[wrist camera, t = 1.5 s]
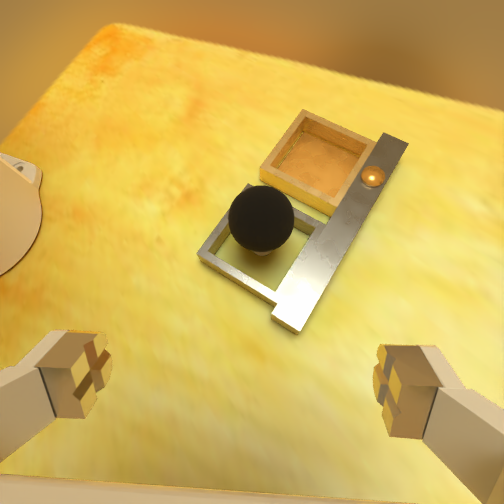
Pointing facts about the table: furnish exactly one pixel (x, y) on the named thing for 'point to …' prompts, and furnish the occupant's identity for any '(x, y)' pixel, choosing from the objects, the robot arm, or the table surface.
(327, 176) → the rail
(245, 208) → the light bulb
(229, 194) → the table surface
